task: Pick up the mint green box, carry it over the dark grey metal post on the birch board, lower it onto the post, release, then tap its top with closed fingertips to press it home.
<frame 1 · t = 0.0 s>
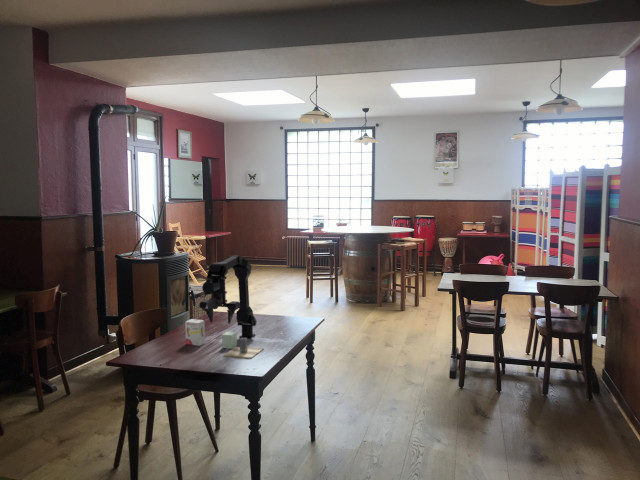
hand: (220, 322, 241), 15 cm above the table, fingers open, 9 cm apart
ink box: (195, 344, 259), on the table
post board: (243, 352, 243), on the table
post: (243, 345, 243), on the post board, point 4 cm above the table
mint green box: (229, 346, 253), on the table
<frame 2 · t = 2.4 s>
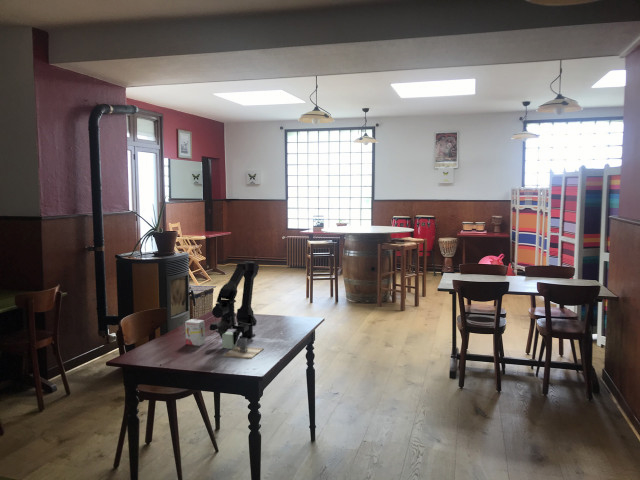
hand: (229, 344, 253), 1 cm above the table, fingers closed on mint green box, 5 cm apart
mint green box: (229, 346, 253), on the table, touching gripper
everything else where it was.
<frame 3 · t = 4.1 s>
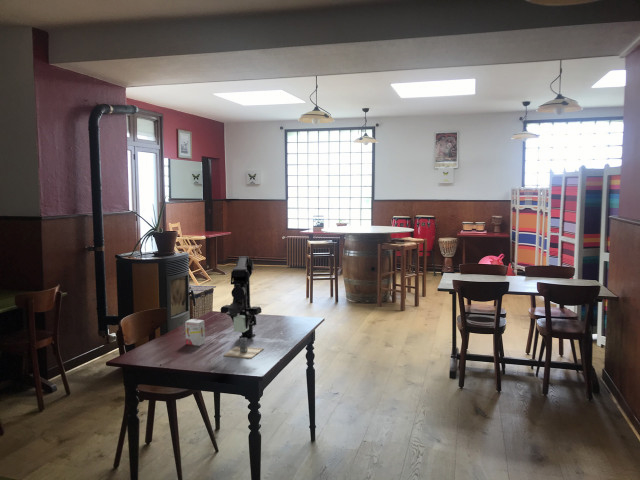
hand: (241, 327, 242), 12 cm above the table, fingers closed on mint green box, 5 cm apart
mint green box: (241, 330, 242), point 11 cm above the table, touching gripper
everything else where it was.
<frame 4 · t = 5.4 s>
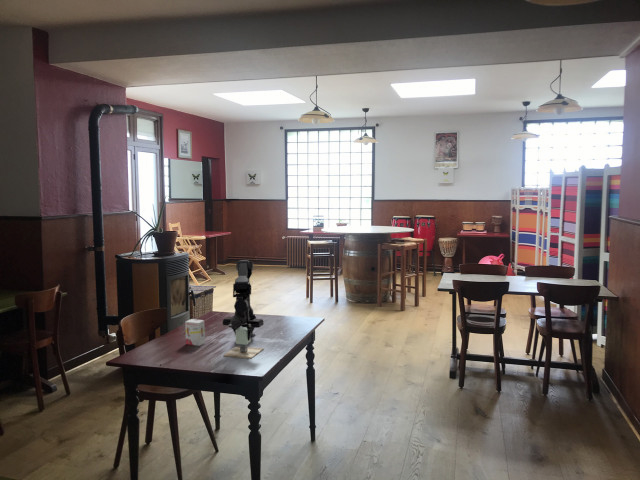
hand: (243, 340, 242), 6 cm above the table, fingers closed on mint green box, 5 cm apart
mint green box: (243, 342, 242), point 5 cm above the table, touching gripper
everything else where it was.
when the fingers open (3 cm above the table, at t = 6.3 s): mint green box drops 1 cm, resting on post.
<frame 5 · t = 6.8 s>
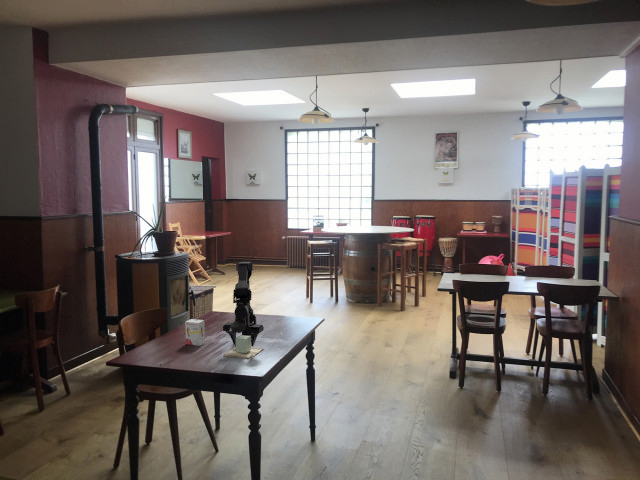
hand: (243, 345, 243), 3 cm above the table, fingers open, 9 cm apart
mint green box: (243, 350, 243), point 1 cm above the table, touching post
everything else where it was.
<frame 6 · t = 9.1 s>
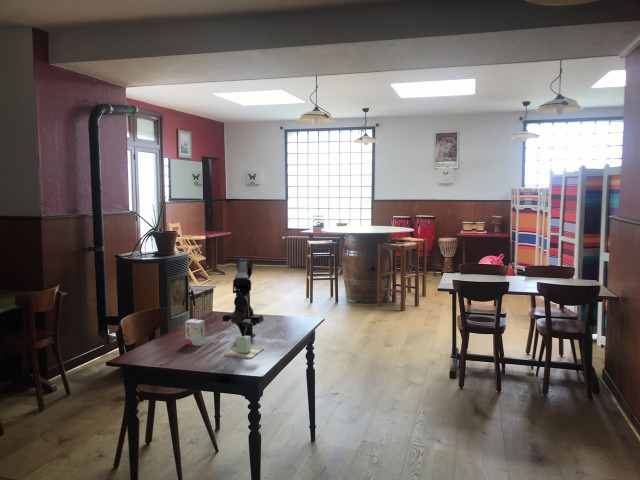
hand: (243, 336, 242), 8 cm above the table, fingers closed
nothing on the table moved.
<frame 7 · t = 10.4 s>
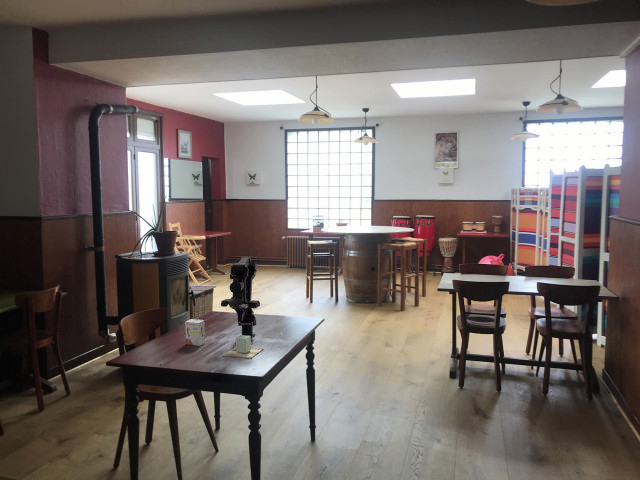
hand: (240, 320, 253), 12 cm above the table, fingers closed
nothing on the table moved.
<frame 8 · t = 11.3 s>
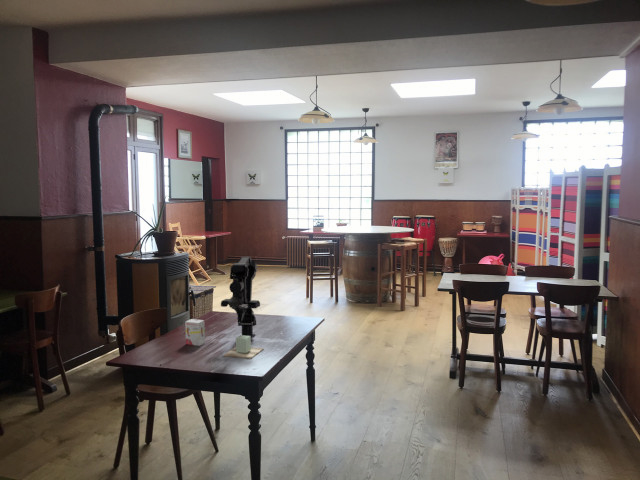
hand: (240, 320, 253), 13 cm above the table, fingers closed
nothing on the table moved.
at the end: mint green box 0.1 cm from the post (horizontally); mint green box point 1.0 cm above the table; the gripper is holding nothing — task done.
